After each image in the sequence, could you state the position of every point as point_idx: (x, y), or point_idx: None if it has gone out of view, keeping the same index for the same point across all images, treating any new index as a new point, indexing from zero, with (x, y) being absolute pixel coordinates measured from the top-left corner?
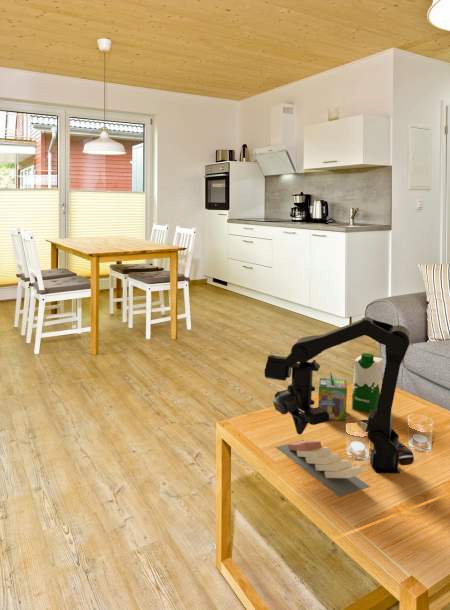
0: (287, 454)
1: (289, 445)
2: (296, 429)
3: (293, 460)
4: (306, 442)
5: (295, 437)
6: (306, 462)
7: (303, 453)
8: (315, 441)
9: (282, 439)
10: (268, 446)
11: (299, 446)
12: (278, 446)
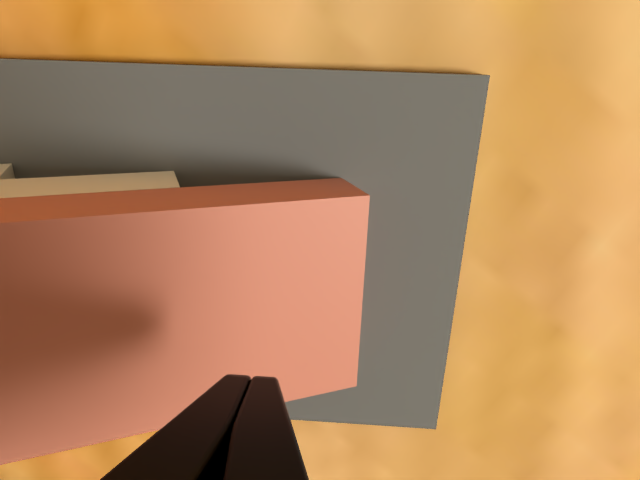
0: (261, 93)
1: (334, 193)
2: (273, 420)
3: (111, 68)
4: (144, 360)
5: (537, 405)
6: (7, 164)
7: (14, 188)
8: (41, 446)
9: (597, 276)
10: (585, 17)
11: (74, 210)
12: (481, 116)
